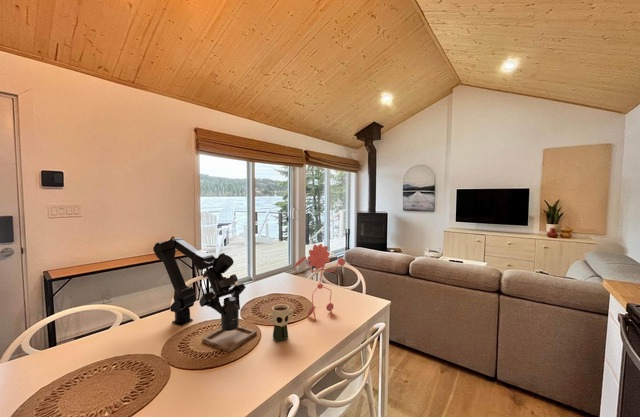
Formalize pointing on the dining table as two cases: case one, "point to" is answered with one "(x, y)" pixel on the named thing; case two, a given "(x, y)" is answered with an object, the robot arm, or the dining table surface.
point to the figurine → (318, 260)
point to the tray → (229, 338)
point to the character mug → (280, 321)
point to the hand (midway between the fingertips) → (231, 312)
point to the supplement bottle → (230, 314)
